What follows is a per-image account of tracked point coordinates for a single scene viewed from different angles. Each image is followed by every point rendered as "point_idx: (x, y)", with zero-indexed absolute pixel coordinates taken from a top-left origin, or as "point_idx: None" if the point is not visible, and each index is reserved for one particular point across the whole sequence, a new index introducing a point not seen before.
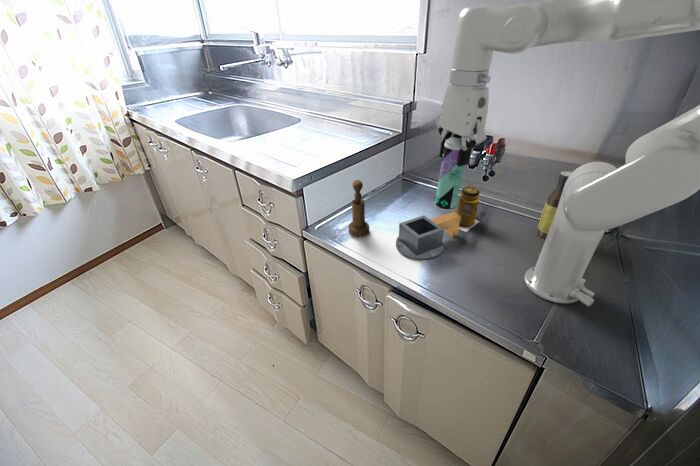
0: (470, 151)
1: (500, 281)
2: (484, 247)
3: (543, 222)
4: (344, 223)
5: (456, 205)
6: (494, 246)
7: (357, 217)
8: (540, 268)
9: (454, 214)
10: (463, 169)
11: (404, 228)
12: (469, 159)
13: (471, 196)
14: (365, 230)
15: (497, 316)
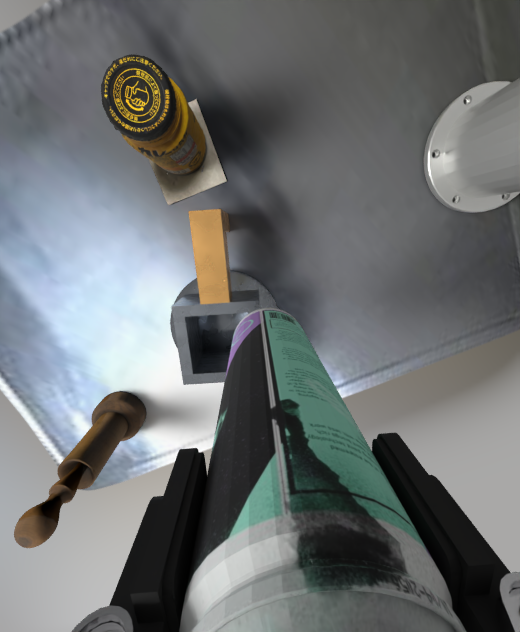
0: (502, 573)
1: (406, 246)
2: (302, 186)
3: None
4: (78, 425)
5: (299, 324)
6: (311, 158)
7: (113, 451)
8: (499, 188)
9: (204, 221)
10: (347, 409)
11: (207, 381)
12: (443, 487)
13: (171, 123)
14: (138, 415)
15: (461, 319)
